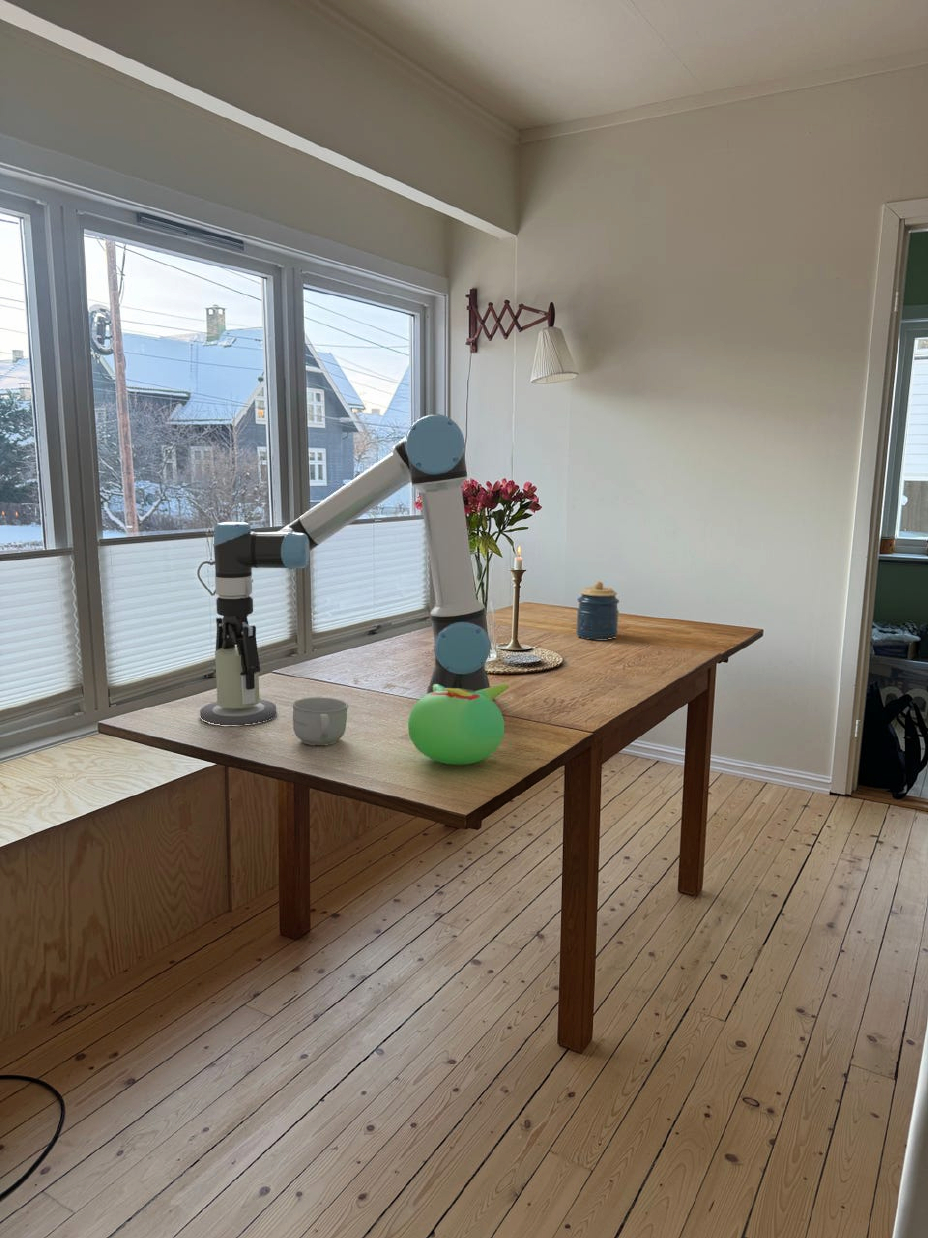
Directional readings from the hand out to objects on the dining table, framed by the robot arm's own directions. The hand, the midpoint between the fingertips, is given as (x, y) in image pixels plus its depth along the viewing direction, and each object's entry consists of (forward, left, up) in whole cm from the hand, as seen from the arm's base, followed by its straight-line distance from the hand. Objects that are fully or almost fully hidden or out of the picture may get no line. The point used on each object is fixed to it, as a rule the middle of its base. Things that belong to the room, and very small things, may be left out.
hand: (238, 698), depth 189 cm
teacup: (-27, -4, -4) cm, 27 cm away
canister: (+7, -126, -4) cm, 126 cm away
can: (0, 0, -1) cm, 1 cm away
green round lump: (-51, -19, -4) cm, 55 cm away
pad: (0, 0, -4) cm, 4 cm away
